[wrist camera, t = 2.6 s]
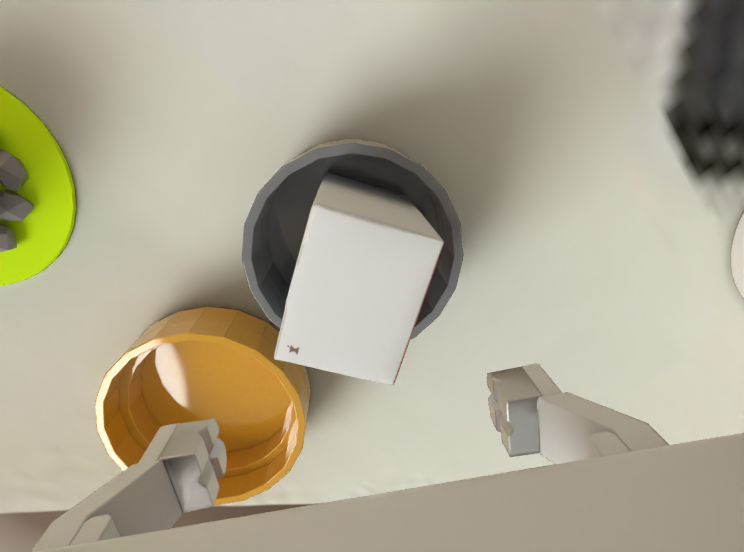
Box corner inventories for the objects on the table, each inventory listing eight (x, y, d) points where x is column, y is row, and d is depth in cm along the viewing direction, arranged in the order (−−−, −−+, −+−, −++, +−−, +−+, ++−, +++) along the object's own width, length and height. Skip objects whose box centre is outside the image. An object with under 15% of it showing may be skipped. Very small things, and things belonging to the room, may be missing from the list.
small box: (378, 294, 35) (394, 390, 23) (298, 274, 34) (269, 362, 22) (410, 194, 32) (447, 240, 20) (324, 168, 32) (309, 201, 19)
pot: (433, 124, 31) (452, 126, 26) (451, 302, 36) (471, 337, 30) (240, 156, 31) (216, 164, 26) (283, 330, 36) (270, 369, 30)
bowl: (289, 290, 35) (280, 317, 30) (325, 444, 40) (322, 488, 35) (101, 321, 35) (62, 353, 30) (160, 470, 40) (135, 518, 35)
